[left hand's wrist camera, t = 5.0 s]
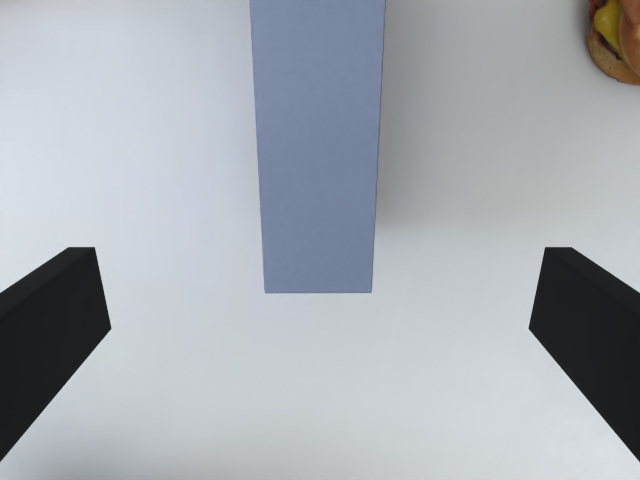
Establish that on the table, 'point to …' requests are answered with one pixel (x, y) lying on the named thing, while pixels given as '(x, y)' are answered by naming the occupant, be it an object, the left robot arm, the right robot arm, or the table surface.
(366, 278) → the blue-grey rectangular block
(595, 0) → the burger
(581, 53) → the table surface
